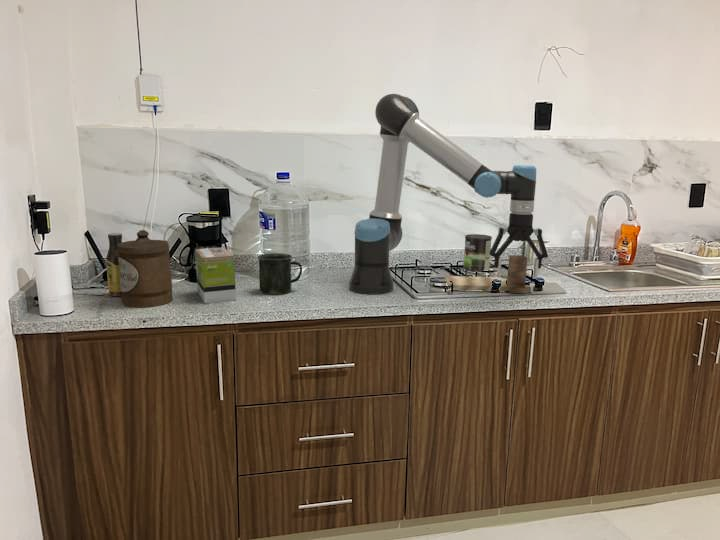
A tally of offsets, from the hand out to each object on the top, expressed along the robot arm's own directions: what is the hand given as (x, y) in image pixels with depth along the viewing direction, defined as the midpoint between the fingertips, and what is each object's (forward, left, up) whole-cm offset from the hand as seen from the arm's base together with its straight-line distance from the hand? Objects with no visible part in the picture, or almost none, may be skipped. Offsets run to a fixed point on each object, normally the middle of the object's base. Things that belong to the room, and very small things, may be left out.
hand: (516, 277), depth 190 cm
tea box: (-98, -18, -5) cm, 100 cm away
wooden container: (-117, -26, -5) cm, 120 cm away
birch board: (-9, +6, -5) cm, 12 cm away
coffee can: (-9, +32, -5) cm, 34 cm away
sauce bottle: (-129, -20, -5) cm, 131 cm away
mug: (-79, -9, -5) cm, 80 cm away
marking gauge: (0, +4, -5) cm, 6 cm away
